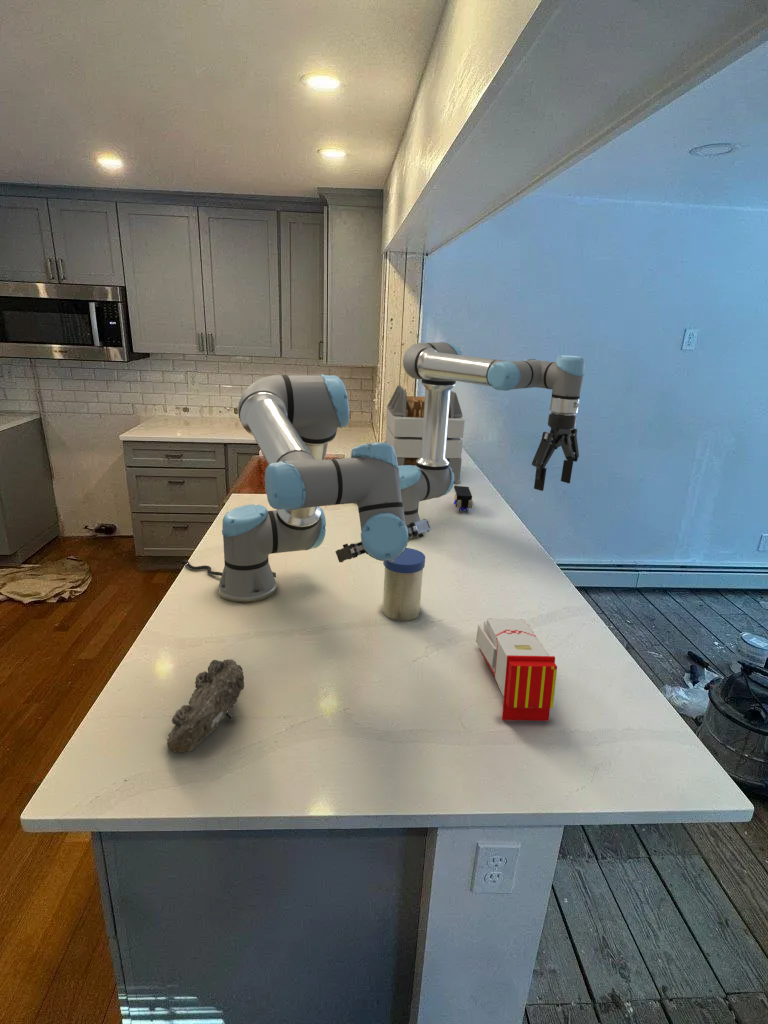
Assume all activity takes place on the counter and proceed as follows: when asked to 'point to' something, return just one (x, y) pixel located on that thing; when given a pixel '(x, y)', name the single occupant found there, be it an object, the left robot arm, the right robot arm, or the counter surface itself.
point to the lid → (407, 562)
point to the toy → (519, 668)
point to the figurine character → (463, 498)
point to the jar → (402, 595)
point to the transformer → (421, 429)
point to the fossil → (206, 705)
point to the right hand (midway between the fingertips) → (552, 485)
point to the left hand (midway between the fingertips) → (383, 541)
